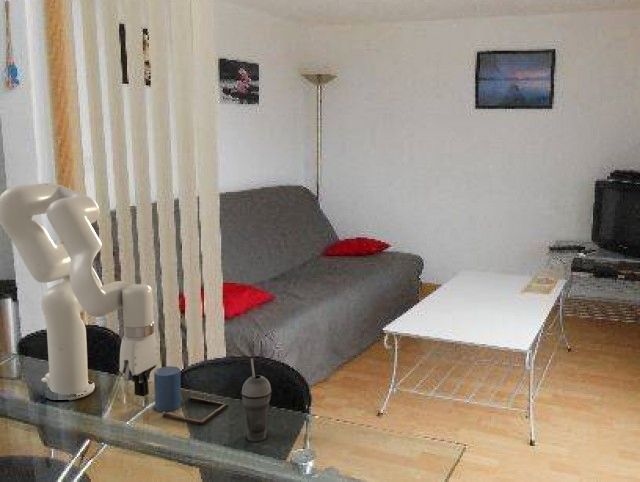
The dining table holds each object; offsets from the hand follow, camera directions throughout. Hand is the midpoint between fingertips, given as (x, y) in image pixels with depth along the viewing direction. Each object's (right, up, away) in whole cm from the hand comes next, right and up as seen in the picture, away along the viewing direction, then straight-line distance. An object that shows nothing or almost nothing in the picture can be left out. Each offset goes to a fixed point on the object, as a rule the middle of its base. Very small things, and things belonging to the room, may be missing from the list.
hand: (141, 394), depth 167 cm
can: (+8, -2, -2) cm, 9 cm away
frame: (+17, -3, -5) cm, 18 cm away
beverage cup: (+36, -5, -18) cm, 40 cm away
